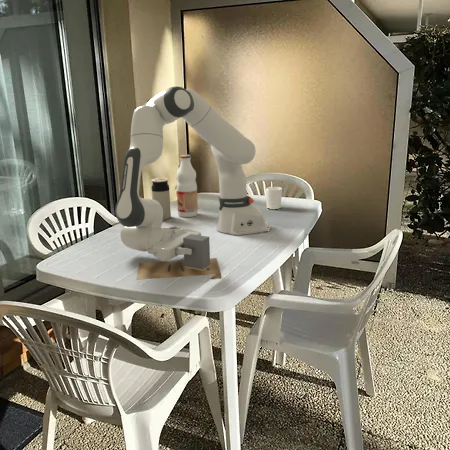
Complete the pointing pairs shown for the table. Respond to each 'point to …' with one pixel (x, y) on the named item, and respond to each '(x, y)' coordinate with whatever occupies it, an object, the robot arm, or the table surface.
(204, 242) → the block
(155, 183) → the travel mug
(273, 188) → the white cup
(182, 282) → the table surface
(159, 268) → the oak board
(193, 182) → the fruit juice
